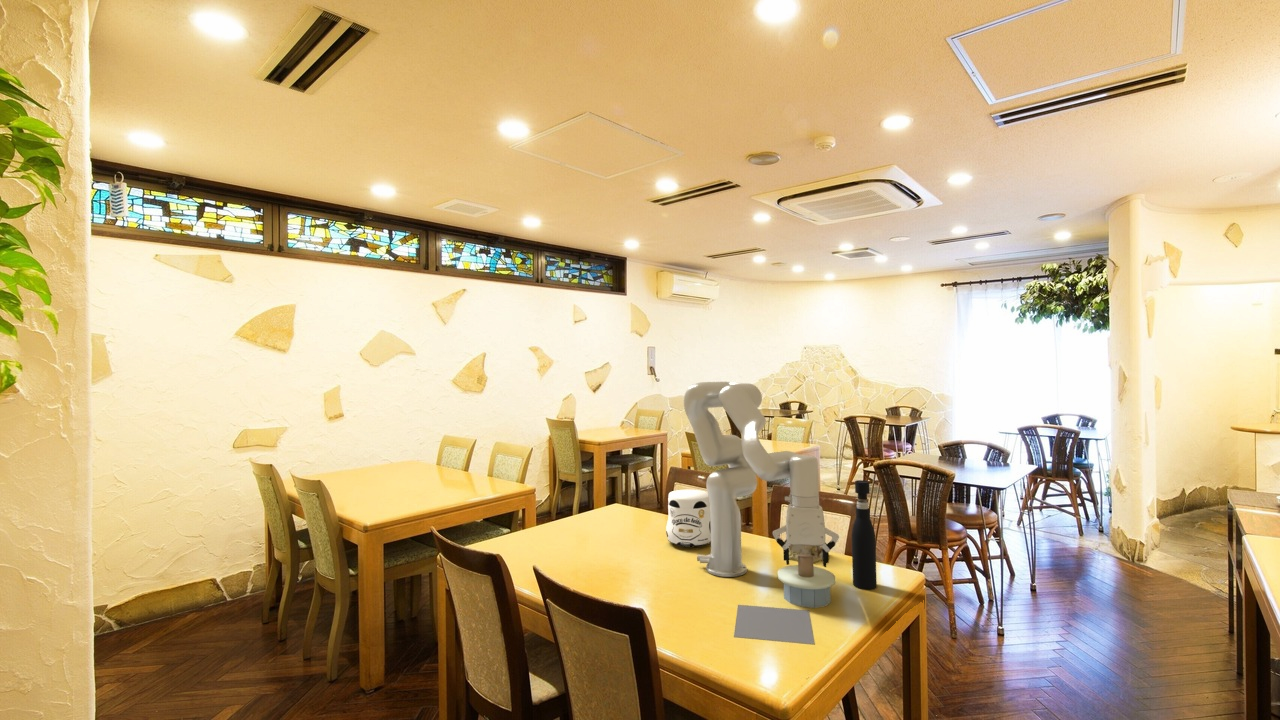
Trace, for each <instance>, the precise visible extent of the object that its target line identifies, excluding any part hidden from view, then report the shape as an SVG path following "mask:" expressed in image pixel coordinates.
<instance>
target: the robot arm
mask: <svg viewBox="0 0 1280 720" xmlns="http://www.w3.org/2000/svg"><path fill="white" fill-rule="evenodd" d="M762 401H763V396H762V392H761V390H760V389H759V388H758V387H757V386H756V385H754V384H753V383H746V382H736V381H735V382H734V381H702V382H696V383H693V384H692V385H690V386H689V387H688V388H687V389H686V390H685V393H684V396H683V407H684V412H685V415H686V417H687V419H688V421H689V424H690V425H691V427H692V431H693V433H694V437H695V440H696V444H697V447H698V449H699V453H700V455H701V458H702V460H703V463H704V464H705V465H707V467H708V466H709V467H719V466H720V467H721V466H727V468H722V469H721V468H720V469H716V470H714V471H712V472H711V473H710V474H709V475H708V477H707V478H706V492H707V493H708V497H709V504H710V526H711V542H710V553H709V554H706V555H705V554H697V555H696V560H697V562H699V563H700V564H706V566H705V567H706V569H705V570H706V571H707V573H709V574H711V575H713V576H717V577H725V578H733V577H734V578H735V577H739V576H742V575H744V574H746V573H747V572H748V570H747V569H748V567H747V565H746V564H744V563H743V562H742V558H743V556H742V519H741V517H742V516H741V510H740V507H739V505H738V503H737V501H736V499H737V498H742V497H743V498H744V497H746V496H750V495H751V494H753V493H754V492H756V490H757V486H758V478H760V479H761V480H763V481H765V482H773V481H778V480H784V479H788V478H789V495H785V496H784V502H788V503H789V504H788V505H787V508H786V516H785V525H783V526H781V527H779V528H777V529H774V530H772V536H773V538H774V539H775V541H776V543H777V544H778V545H779V546H780V548H782V550H783V552H782V553H783V561H785V564H786V566H789V565H790V559H789V546H790V545H791V544H794V545H810V546H821V547H822V548H823V550H822V566H823V567H824V568H827V564H829V563H830V561H829V559H830V558H829V555H830V553H829V552H830V551H831V550H832V549H833V548H834V547H835V546H836V545H837V542H838V541H839V538H840V535H839V534H838V533H837V532H835V531H833V530H831V529H829V528H827V527H826V525H825V515H824V511H823V507H822V505H820V494H819V493H820V488H819V487H820V485H819V461H818V458H817V457H816V456H814V455H810V454H799V453H797V452H795V451H789V450H783V451H782V450H781V451H775V452H768V451H767V450H766V449H765V448H764V446H763V445H762V443H761V441H760V439H759V433H760V432H761V431H763V429H764V428H765V426H766V422H767V419H766V417H765V415H763V413H762V412H761V410H760V409H759V407H760V405H761V404H762ZM711 408H723V409H724V411H725V412H726V413H727V415H728V417H730V419H731V421H732V422H733V423H734V425H735V426H736V428H737V429H738V431H739V433H740V434H741V438H740V437H739V436H738V435H735V434H726V435H725V434H723V433H722V431H721V428H720V425H719V422H718V420H717V418H716V417H715V416H714V415H713V414H712V412H711V411H709V409H711ZM757 477H758V478H757ZM784 533H785V537H786V539H785V540H783V539H782V538H781V537H780V535H781V534H784ZM826 535H828V536H829V537H831V539H830V541H829V542H827V543H826Z"/></svg>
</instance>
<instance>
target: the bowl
mask: <svg viewBox="0 0 1280 720" xmlns="http://www.w3.org/2000/svg"><path fill="white" fill-rule="evenodd" d="M783 599H784V600H785V601H787V602H788V603H789V604H792V605H794V606H799V607H801V608H812V609H814V608H816V609H817V608H822V607H826V606H827V605H829V604H830V603H831V601H832V599H831V587H828V588H824V589H802V588H797V587H793V586H789V585H787V584H785V583H783Z"/></svg>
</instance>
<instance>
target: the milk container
mask: <svg viewBox="0 0 1280 720" xmlns="http://www.w3.org/2000/svg"><path fill="white" fill-rule="evenodd" d="M667 500H668V503H667V504H668V505H667V509H668V510H667V511H668V518H667V522H666V527H665V535H666V537H667V540H668V542H670V543H671V544H672V545H673V546H674V545H675V546H678V547H683V548H700V547H704V546H706V545H708V544H711V526H710V504H709V497H708V493H707V490H706V491H705V490H700V489H679V490H673V491H670V492H669V493H668V498H667Z"/></svg>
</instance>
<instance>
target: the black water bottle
mask: <svg viewBox="0 0 1280 720" xmlns="http://www.w3.org/2000/svg"><path fill="white" fill-rule="evenodd" d="M854 492H855V493H856V494H857V501H856V508H855V518H854V522H853V525H852V531H851V554H852V555H851V557H852V561H851V563H852V585H853V587H855V588H857V589H859V590H865V591H871V589H873V590H875V588H876V589H877V588H878V587H877V583H878V582H877V581H878V580H877V554H876V553H877V551H876V533H875V529H874V525H873V522H872V520H871V511H870V510H871V509H870V508H869V507H870V506H869V501H868V495H869V494H870V481H868V480H864V479H860V480H859V479H857V480H854Z"/></svg>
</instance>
